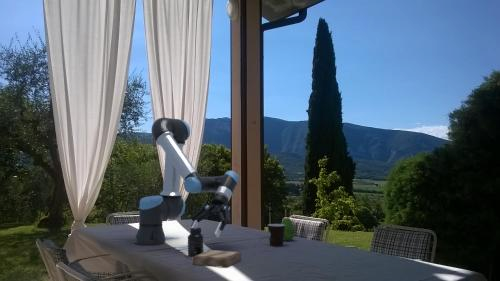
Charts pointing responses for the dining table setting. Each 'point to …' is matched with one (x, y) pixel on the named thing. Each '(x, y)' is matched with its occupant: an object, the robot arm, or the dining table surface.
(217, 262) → the pedestal
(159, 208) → the robot arm
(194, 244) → the supplement bottle
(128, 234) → the dining table surface
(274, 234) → the coffee mug
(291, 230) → the avocado
